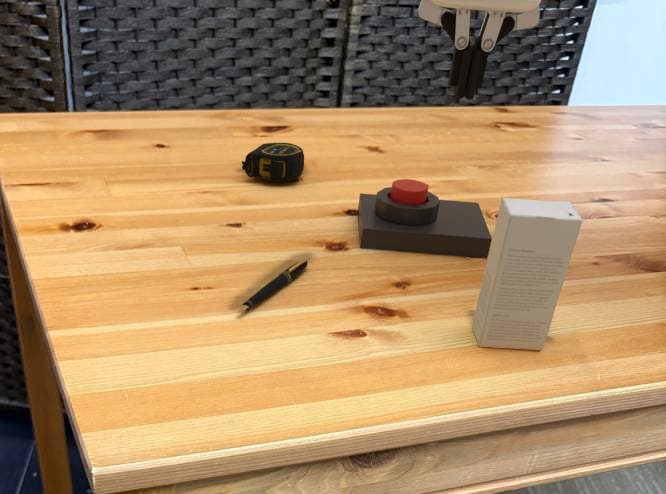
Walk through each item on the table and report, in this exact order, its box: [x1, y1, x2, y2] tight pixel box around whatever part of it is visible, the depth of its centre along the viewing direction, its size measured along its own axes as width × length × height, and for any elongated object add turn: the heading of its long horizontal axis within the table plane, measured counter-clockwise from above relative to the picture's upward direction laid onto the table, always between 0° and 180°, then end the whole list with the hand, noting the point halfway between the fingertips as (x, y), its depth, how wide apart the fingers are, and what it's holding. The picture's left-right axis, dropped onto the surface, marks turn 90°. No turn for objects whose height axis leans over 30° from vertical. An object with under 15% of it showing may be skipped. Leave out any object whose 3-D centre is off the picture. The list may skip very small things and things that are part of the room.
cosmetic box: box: [471, 197, 583, 351], centre depth 71 cm, size 6×4×12 cm
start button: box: [390, 178, 429, 205], centre depth 90 cm, size 4×4×2 cm
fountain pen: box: [237, 258, 308, 313], centre depth 79 cm, size 14×1×2 cm, turn 151°
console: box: [357, 186, 493, 259], centre depth 92 cm, size 14×11×4 cm
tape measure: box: [241, 142, 305, 183], centre depth 103 cm, size 7×7×4 cm
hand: (462, 95), depth 77 cm, fingers closed
